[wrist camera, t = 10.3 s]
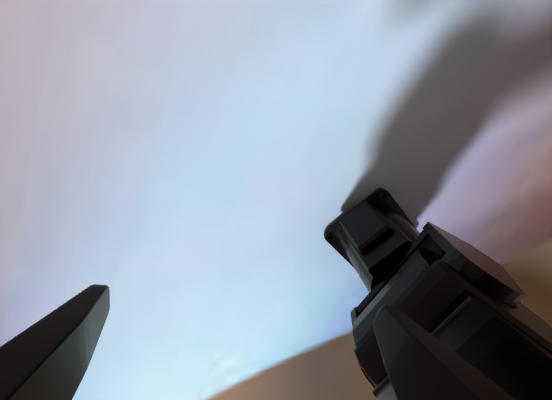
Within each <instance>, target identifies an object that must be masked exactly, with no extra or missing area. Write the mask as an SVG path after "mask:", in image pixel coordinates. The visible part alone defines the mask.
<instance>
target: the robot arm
mask: <svg viewBox="0 0 552 400" xmlns="http://www.w3.org/2000/svg"><path fill="white" fill-rule="evenodd" d="M381 193H383V195H382V196H380V195H381ZM423 229H424V230H423V231H422V232H421V233H420V232H419V231H418V230H417V229H416V228H415V226H414V225H413V224H412V222H411V221H410V220H409V219H408V217H407V216H406V215H405V213H404V212H403V211H402V209H401V208H400V207H399V205H398V204H397V203H396V201H395V200H394V199H393V198H392V196H391V195H390V194H389V192H388V191H387V190H385V189H384V188H380V189H378V190H377V191H375V192H374V193H373V194H372V195H370V196H369V197H368V198H367V199H365V200H364V201H363V202H361V203H360V204H359V205H357V206H356V207H355V208H354V209H352V210H351V211H350V212H349V213H347V214H346V215H345V216H344V217H342V218H341V219H340V220H339V221H338V222H337V223H335V224H334V225H333V226H332V227H330V228H329V229H328V230H327V231H326V232H325V233H324V237H325V239H326V241H327V242H328V243H329V244H330V245H331V246H333V247H334V248H335V249H336V250H337V251H338V252H339V253H340V254H341V255H342V256H343V257H344V258H345V259H346V260H347V261H348V262H349V263H350V264H351V265H352V266H353V267H354V268H355V269H356V271H357V273H358V274H359V276H360V278H361V279H362V281H363V283H364V284H365V286H366V288H367V289H368V291H369V292H370V293H369V294H368V295H367V296H366V297H365V299H364V300H363V301H362V302H361V303H360V304H359V306H358V307H355V308H354V309H353V310H352V312H351V319H352V326H353V331H352V332H353V335H354V340H355V347H356V348H355V349H354V353H355V356H356V358H357V360H358V363H359V365H360V367H361V370H362V371H363V373H364V375H365V376H366V378H367V379H368V381H369V382H370V383H371V385H372V386H373V387H374V389H373V394H374V395H375V397H377V398H378V399H379V400H552V327H551V326H550V325H549V324H548V323H547V322H546V321H545V320H544V319H542V318H541V317H540V316H538V315H537V314H536V313H534V312H533V311H532V310H530V309H529V308H528V307H526V306H525V305H524V304H522V303H521V301H522V300H523V299H524V298H525V297H526V296H527V295H526V293H525V292H524V291H523V290H522V289H521V287H520V286H519V285H518V284H517V283H516V282H515V280H514V279H513V278H512V277H511V276H510V275H509V273H508V272H507V271H506V270H505V269H504V268H503V267H502V266H500V265H499V264H498V263H496V262H495V261H493V260H492V259H491V258H489V257H488V256H486V255H485V254H483V253H482V252H481V251H479V250H478V249H476V248H475V247H473V246H472V245H470V244H468V243H466V242H464V241H463V240H461V239H459V238H457V237H455V236H454V235H452V234H450V233H448V232H446V231H444V230H443V229H441V228H439V227H437V226H435V225H434V224H432V223H430V222H427V224H426V225H425V226H424V227H423ZM330 234H332V236H330V237H328V236H329V235H330ZM109 307H110V298H109V287H108V286H107V285H96V284H94V285H91V286H89V287H88V288H86V289H85V290H83V291H82V292H81V293H79V294H78V295H76V296H75V297H73V298H72V299H70V300H69V301H67V302H66V303H64V304H63V305H61V306H60V307H58V308H57V309H56V310H54V311H53V312H51V313H50V314H48V315H47V316H45V317H44V318H42V319H41V320H39V321H38V322H36V323H35V324H33V325H32V326H30V327H29V328H28V329H26V330H25V331H23V332H22V333H20V334H19V335H17V336H16V337H14V338H13V339H11V340H10V341H8V342H7V343H5V344H4V345H3V346H1V347H0V400H72V398H73V396H74V394H75V392H76V390H77V388H78V386H79V384H80V383H81V381H82V379H83V376H84V374H85V372H86V370H87V368H88V365H89V363H90V360H91V358H92V355H93V352H94V350H95V347H96V345H97V342H98V339H99V337H100V334H101V331H102V329H103V326H104V323H105V321H106V318H107V316H108V312H109Z"/></svg>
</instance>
